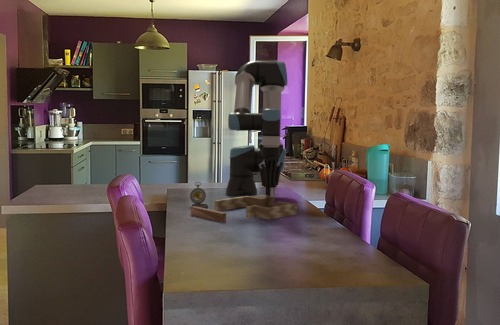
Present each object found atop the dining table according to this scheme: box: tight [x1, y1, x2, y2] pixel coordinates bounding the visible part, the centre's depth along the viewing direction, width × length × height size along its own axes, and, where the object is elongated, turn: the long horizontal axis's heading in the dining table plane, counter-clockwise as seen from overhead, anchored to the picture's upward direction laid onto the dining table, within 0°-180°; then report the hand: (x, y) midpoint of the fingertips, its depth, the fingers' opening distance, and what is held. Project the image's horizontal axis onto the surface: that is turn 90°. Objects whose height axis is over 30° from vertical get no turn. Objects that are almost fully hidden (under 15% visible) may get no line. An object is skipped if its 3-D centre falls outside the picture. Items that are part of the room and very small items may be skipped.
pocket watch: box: [189, 181, 209, 209], centre depth 223 cm, size 8×8×10 cm
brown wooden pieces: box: [190, 196, 298, 223], centre depth 209 cm, size 32×27×4 cm
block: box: [247, 194, 276, 208], centre depth 222 cm, size 8×8×5 cm
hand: (269, 202), depth 225 cm, fingers closed
